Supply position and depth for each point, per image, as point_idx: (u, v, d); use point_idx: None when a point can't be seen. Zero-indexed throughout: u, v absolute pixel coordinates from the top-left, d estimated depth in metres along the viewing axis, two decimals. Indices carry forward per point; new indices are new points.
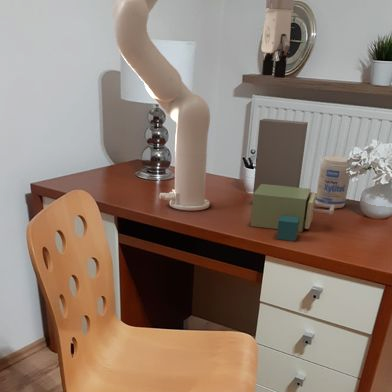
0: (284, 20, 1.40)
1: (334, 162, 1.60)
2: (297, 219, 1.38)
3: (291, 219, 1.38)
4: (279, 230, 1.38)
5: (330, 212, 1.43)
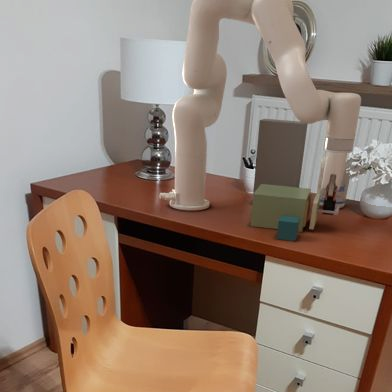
0: (335, 161, 1.35)
1: None
2: (297, 219, 1.38)
3: (291, 219, 1.38)
4: (279, 230, 1.38)
5: (335, 213, 1.43)
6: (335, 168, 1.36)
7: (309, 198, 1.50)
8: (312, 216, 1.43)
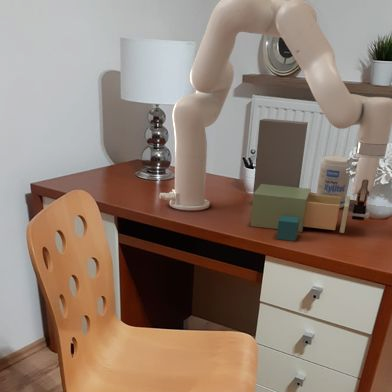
0: (367, 167, 1.34)
1: (334, 162, 1.60)
2: (297, 219, 1.38)
3: (291, 219, 1.38)
4: (279, 230, 1.38)
5: (366, 216, 1.41)
6: (367, 173, 1.35)
7: (339, 201, 1.49)
8: (343, 219, 1.41)
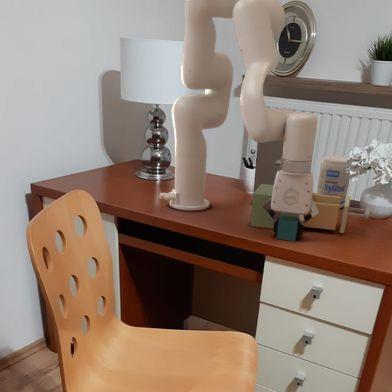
0: None
1: (334, 162, 1.60)
2: (297, 219, 1.38)
3: (291, 219, 1.38)
4: (279, 230, 1.38)
5: (366, 216, 1.41)
6: None
7: (339, 201, 1.49)
8: (343, 219, 1.41)
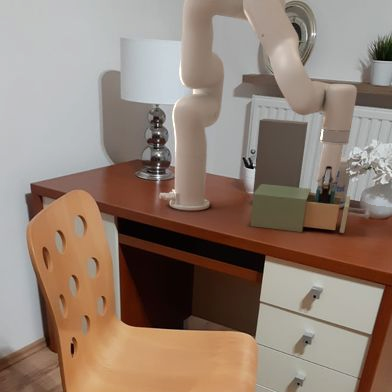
0: (330, 153, 1.35)
1: None
2: None
3: None
4: None
5: (366, 216, 1.41)
6: (331, 160, 1.35)
7: (339, 201, 1.49)
8: (343, 219, 1.41)
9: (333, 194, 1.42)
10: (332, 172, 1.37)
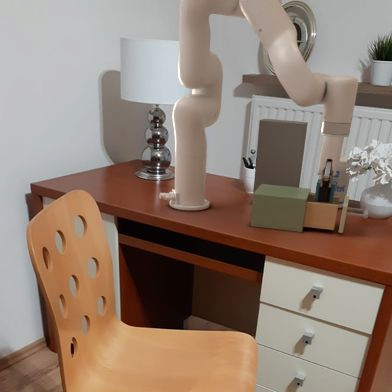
0: (331, 146, 1.34)
1: None
2: None
3: None
4: None
5: (365, 216, 1.41)
6: (331, 152, 1.35)
7: (337, 201, 1.49)
8: (342, 219, 1.41)
9: (333, 187, 1.41)
10: (333, 165, 1.36)
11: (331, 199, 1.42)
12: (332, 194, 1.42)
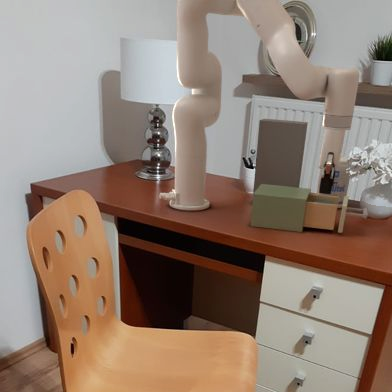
0: (332, 139, 1.33)
1: None
2: None
3: None
4: None
5: (364, 216, 1.41)
6: (333, 146, 1.34)
7: (337, 201, 1.49)
8: (341, 219, 1.41)
9: None
10: (334, 158, 1.35)
11: None
12: None
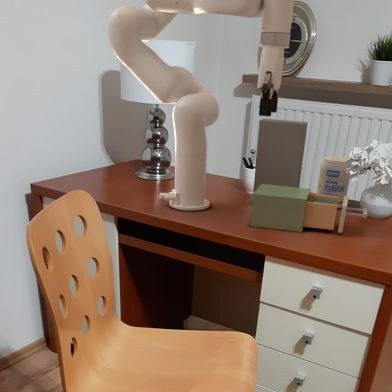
0: (269, 57, 1.32)
1: (334, 162, 1.60)
2: None
3: None
4: None
5: (364, 216, 1.41)
6: (270, 64, 1.32)
7: (337, 201, 1.49)
8: (341, 219, 1.41)
9: None
10: (272, 77, 1.34)
11: None
12: None
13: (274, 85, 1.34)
